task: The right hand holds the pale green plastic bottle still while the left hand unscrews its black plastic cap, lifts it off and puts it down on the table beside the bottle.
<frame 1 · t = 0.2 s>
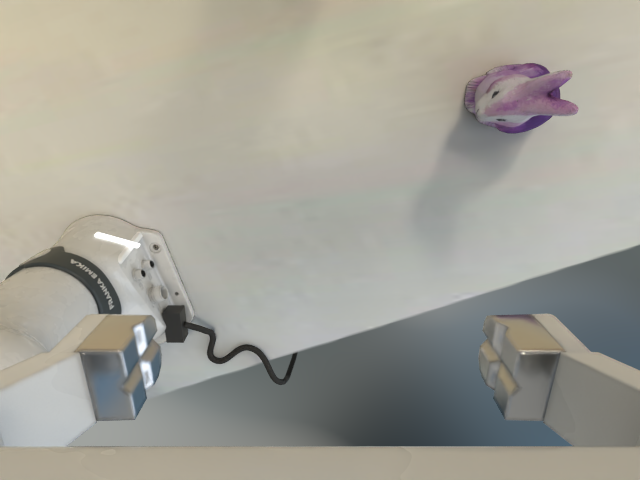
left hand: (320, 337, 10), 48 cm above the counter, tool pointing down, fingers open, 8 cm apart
figurine: (497, 99, 54), on the counter
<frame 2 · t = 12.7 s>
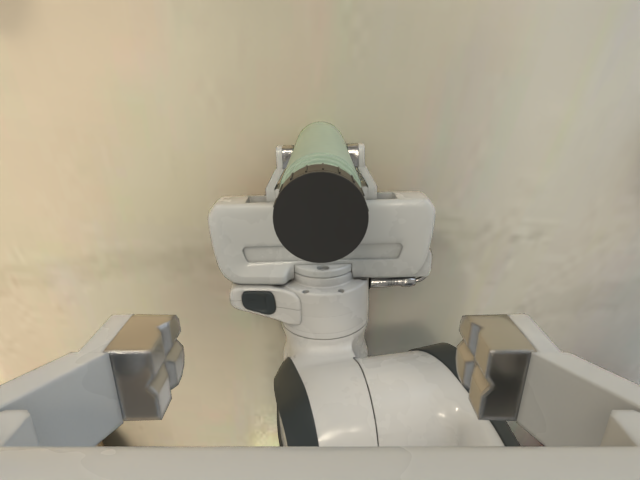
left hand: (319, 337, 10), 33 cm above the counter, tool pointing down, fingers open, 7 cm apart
right hand: (319, 144, 36), fingers closed on bottle, 5 cm apart
bottle: (320, 146, 41), on the counter, touching right hand
cap: (320, 217, 20), point 23 cm above the counter, screwed on, not yet turned
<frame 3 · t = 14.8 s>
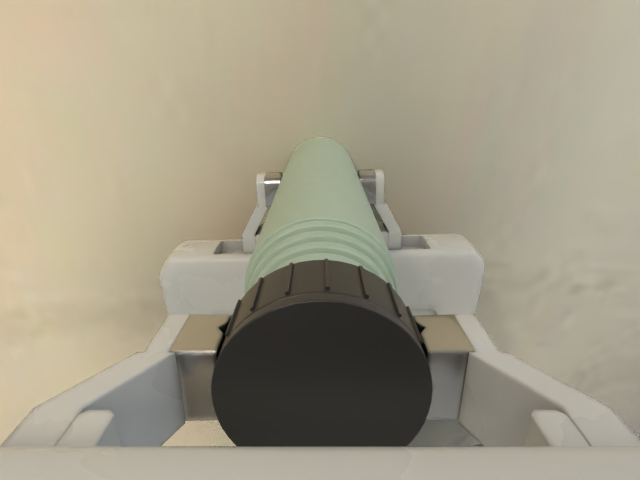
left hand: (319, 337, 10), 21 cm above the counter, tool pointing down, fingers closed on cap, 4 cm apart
bottle: (320, 169, 30), on the counter, touching right hand
cap: (321, 387, 9), point 23 cm above the counter, screwed on, not yet turned, touching left hand
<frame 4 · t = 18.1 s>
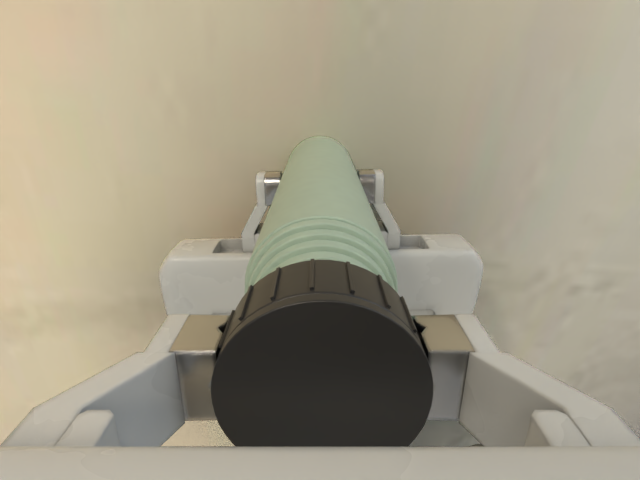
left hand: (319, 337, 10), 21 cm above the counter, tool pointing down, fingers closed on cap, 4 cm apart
bottle: (319, 168, 30), on the counter, touching right hand
cap: (322, 388, 9), point 23 cm above the counter, turned 88° so far, risen 0.1 cm, still on its thread, touching left hand
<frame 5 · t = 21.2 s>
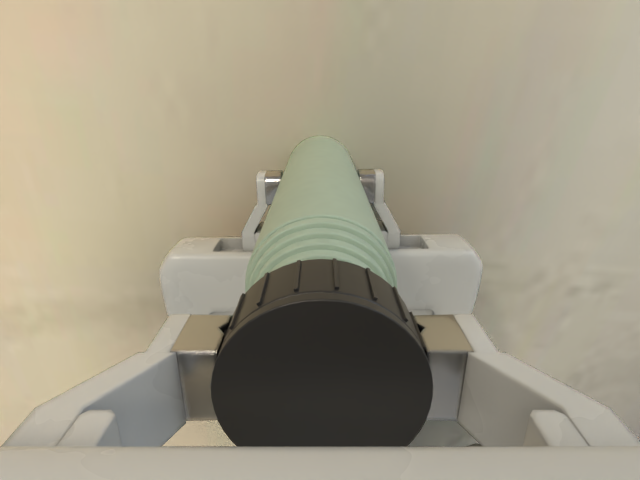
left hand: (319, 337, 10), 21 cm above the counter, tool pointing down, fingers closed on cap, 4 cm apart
bottle: (320, 168, 30), on the counter, touching right hand
cap: (321, 387, 9), point 23 cm above the counter, turned 176° so far, risen 0.2 cm, still on its thread, touching left hand
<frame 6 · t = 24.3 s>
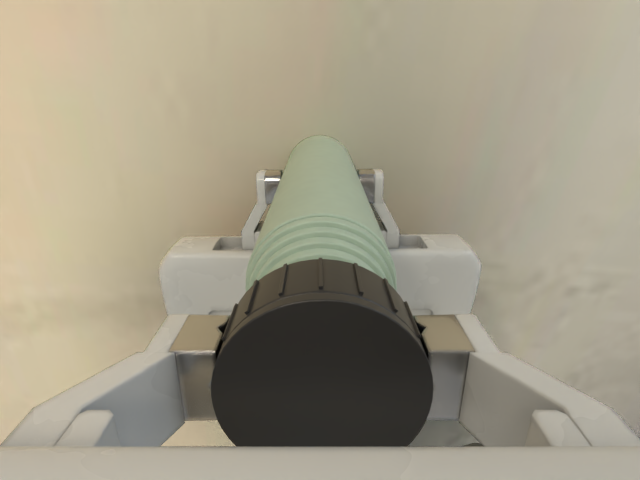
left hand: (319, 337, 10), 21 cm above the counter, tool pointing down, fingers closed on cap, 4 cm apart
bottle: (319, 168, 30), on the counter, touching right hand
cap: (322, 387, 9), point 23 cm above the counter, turned 264° so far, risen 0.3 cm, still on its thread, touching left hand
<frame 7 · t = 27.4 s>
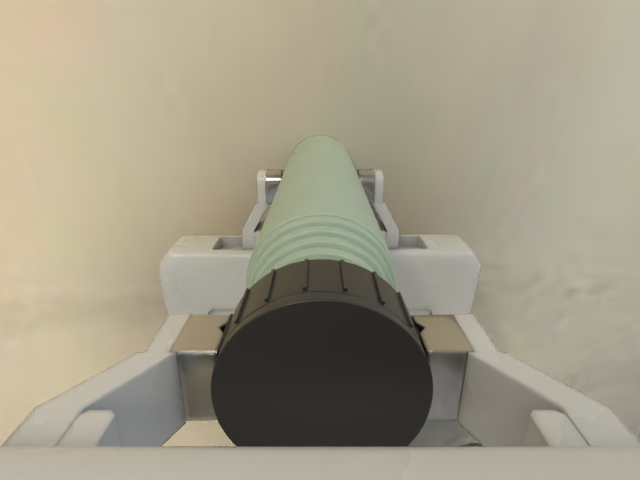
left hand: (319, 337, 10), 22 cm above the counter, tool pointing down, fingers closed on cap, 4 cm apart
bottle: (320, 168, 30), on the counter, touching right hand
cap: (321, 387, 9), point 23 cm above the counter, turned 352° so far, risen 0.3 cm, still on its thread, touching left hand
when the left hand's fingers open (2 cm above the counter, at t = 37.4 s): cap drops 2 cm, point 2 cm above the counter.
when the right hand's fingers open (5 cm above the counter, at t = 38.5 s): bottle stays where it is, on the counter.
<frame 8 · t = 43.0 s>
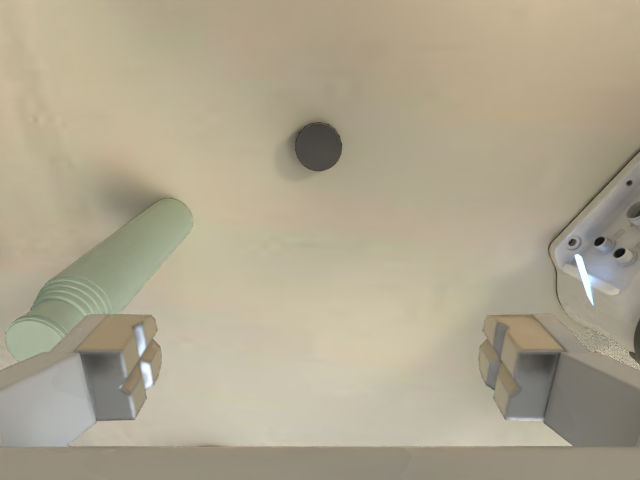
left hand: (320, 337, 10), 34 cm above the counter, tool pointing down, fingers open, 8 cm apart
bottle: (171, 219, 45), on the counter
cap: (318, 147, 40), point 2 cm above the counter, off its thread
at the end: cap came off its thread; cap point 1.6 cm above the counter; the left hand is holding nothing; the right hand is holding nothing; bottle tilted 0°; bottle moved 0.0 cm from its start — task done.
